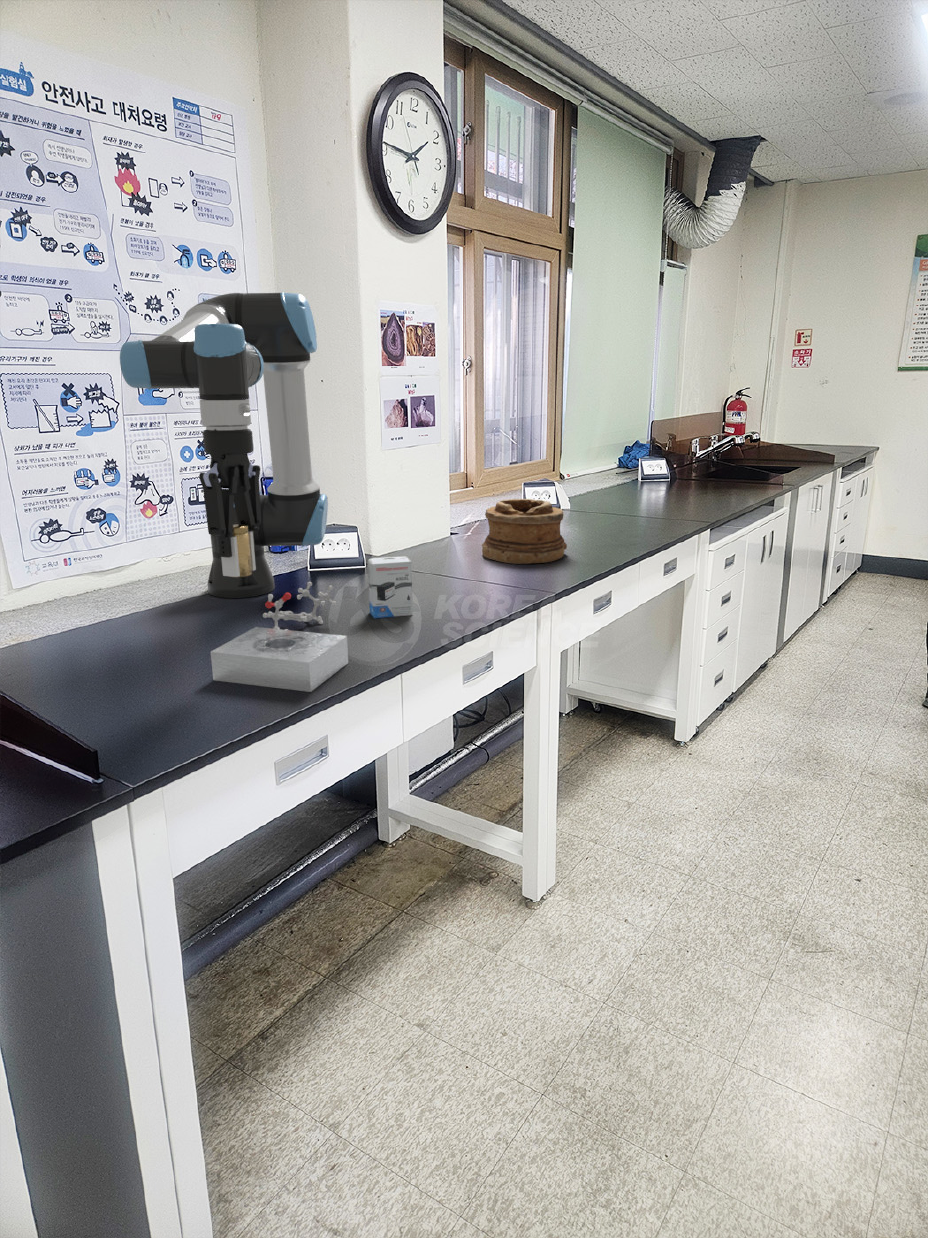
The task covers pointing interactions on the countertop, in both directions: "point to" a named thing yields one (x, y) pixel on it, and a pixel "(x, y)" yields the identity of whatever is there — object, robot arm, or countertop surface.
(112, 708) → the countertop surface
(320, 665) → the plate
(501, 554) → the container
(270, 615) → the molecular model
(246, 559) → the cylinder
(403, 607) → the ink box
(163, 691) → the countertop surface
